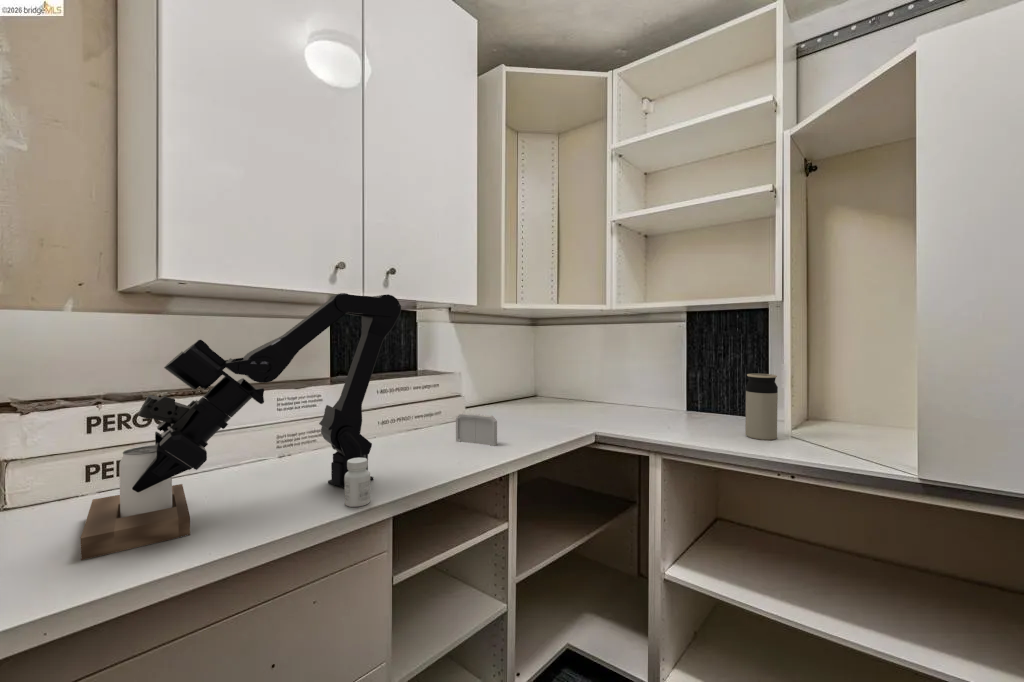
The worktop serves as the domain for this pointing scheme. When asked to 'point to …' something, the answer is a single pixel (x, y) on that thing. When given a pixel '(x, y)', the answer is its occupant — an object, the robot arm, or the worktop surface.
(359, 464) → the pill bottle
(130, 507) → the can
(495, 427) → the gray double door
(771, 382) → the travel mug
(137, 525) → the socket block
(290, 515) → the worktop surface
